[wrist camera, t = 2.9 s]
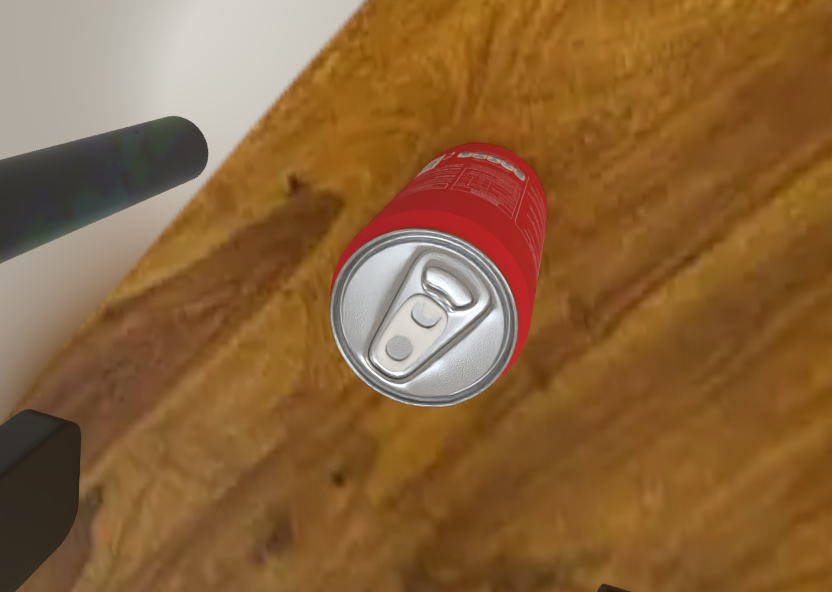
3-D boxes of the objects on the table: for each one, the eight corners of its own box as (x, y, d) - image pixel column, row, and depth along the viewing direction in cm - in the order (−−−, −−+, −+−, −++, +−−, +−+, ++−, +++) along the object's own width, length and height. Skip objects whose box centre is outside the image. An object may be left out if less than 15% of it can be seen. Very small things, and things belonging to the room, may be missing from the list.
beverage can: (577, 195, 29) (574, 310, 18) (493, 294, 31) (443, 453, 20) (467, 109, 29) (396, 173, 18) (390, 216, 31) (282, 333, 20)
